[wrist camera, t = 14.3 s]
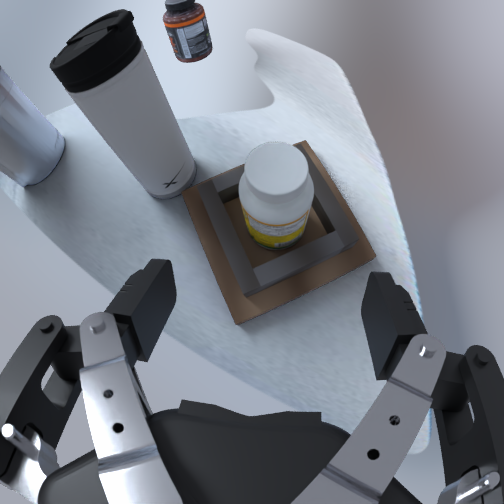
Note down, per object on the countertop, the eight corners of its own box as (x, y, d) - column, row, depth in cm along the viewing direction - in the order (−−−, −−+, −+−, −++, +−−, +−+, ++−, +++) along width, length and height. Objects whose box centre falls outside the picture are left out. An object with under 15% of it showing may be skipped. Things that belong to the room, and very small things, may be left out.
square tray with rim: (237, 325, 26) (231, 323, 22) (185, 198, 30) (173, 179, 26) (371, 260, 26) (385, 248, 23) (304, 148, 30) (307, 125, 26)
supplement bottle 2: (291, 260, 25) (300, 220, 16) (236, 237, 26) (217, 187, 17) (313, 209, 27) (330, 150, 17) (261, 188, 28) (254, 124, 18)
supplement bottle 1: (173, 52, 38) (155, -1, 27) (207, 40, 38) (194, -14, 27) (180, 69, 36) (160, 10, 25) (217, 56, 36) (204, -4, 25)
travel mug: (192, 201, 29) (102, 44, 10) (138, 198, 30) (27, 72, 11) (205, 152, 31) (147, -5, 12) (153, 151, 32) (73, 19, 13)
